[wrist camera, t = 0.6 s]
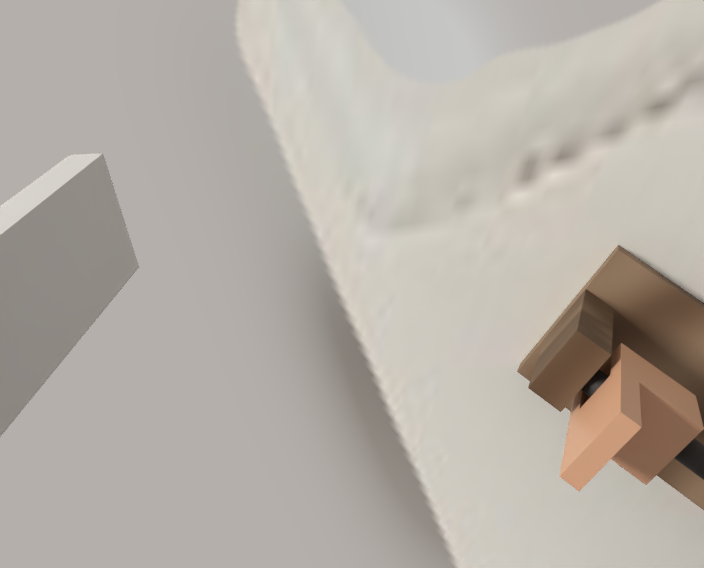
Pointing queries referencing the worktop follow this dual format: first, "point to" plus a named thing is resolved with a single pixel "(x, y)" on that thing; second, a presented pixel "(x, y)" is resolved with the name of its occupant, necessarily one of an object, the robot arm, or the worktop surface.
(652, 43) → the worktop surface
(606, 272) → the brown rod stand
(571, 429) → the tan wooden l-shaped block
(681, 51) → the worktop surface
